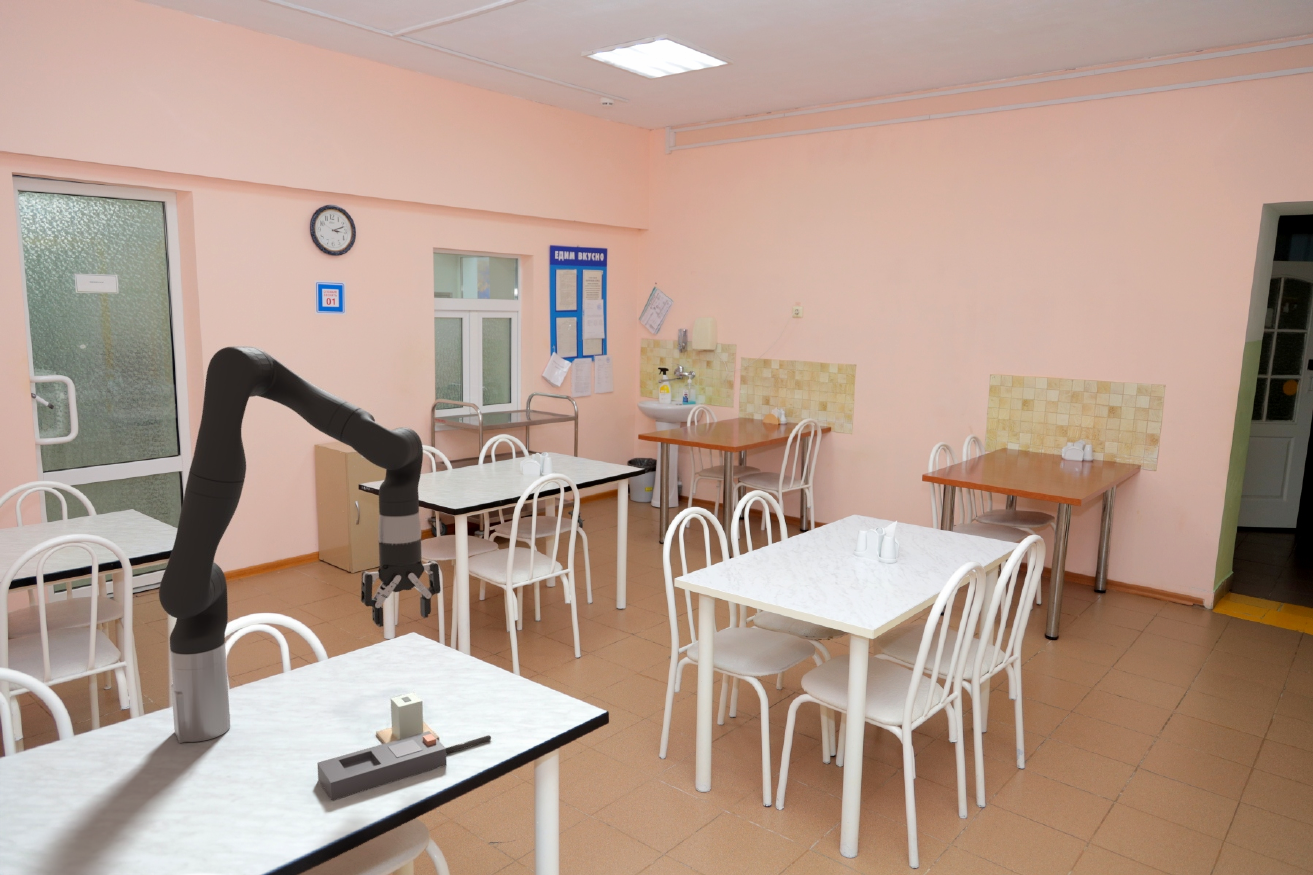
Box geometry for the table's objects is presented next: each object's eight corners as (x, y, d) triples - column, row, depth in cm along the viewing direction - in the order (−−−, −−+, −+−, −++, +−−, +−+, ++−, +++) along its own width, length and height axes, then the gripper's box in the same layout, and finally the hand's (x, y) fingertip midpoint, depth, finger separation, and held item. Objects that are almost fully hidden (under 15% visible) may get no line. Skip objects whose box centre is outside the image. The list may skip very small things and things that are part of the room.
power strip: (331, 800, 143) (330, 778, 142) (318, 779, 149) (317, 758, 149) (500, 748, 161) (499, 727, 160) (481, 731, 167) (481, 712, 167)
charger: (400, 742, 161) (398, 706, 160) (391, 732, 165) (390, 697, 164) (423, 735, 164) (422, 700, 163) (414, 726, 168) (413, 691, 167)
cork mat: (392, 753, 158) (392, 750, 158) (376, 734, 166) (376, 731, 166) (439, 740, 164) (439, 737, 164) (421, 722, 171) (421, 719, 171)
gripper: (429, 527, 167) (431, 608, 169) (354, 537, 158) (357, 622, 160) (444, 535, 161) (446, 619, 163) (367, 546, 152) (370, 634, 154)
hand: (402, 621), depth 162 cm, fingers open, 8 cm apart
